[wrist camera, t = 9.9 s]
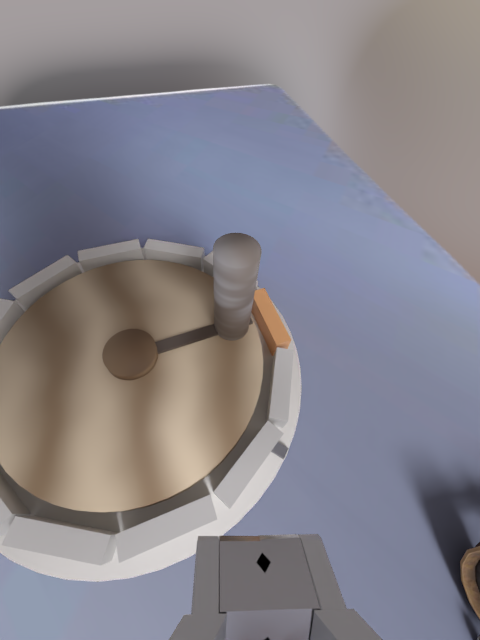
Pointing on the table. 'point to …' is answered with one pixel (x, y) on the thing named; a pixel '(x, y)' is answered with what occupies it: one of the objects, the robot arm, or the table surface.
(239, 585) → the robot arm
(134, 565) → the dial base
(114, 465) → the dial
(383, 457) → the table surface
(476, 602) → the goggles
